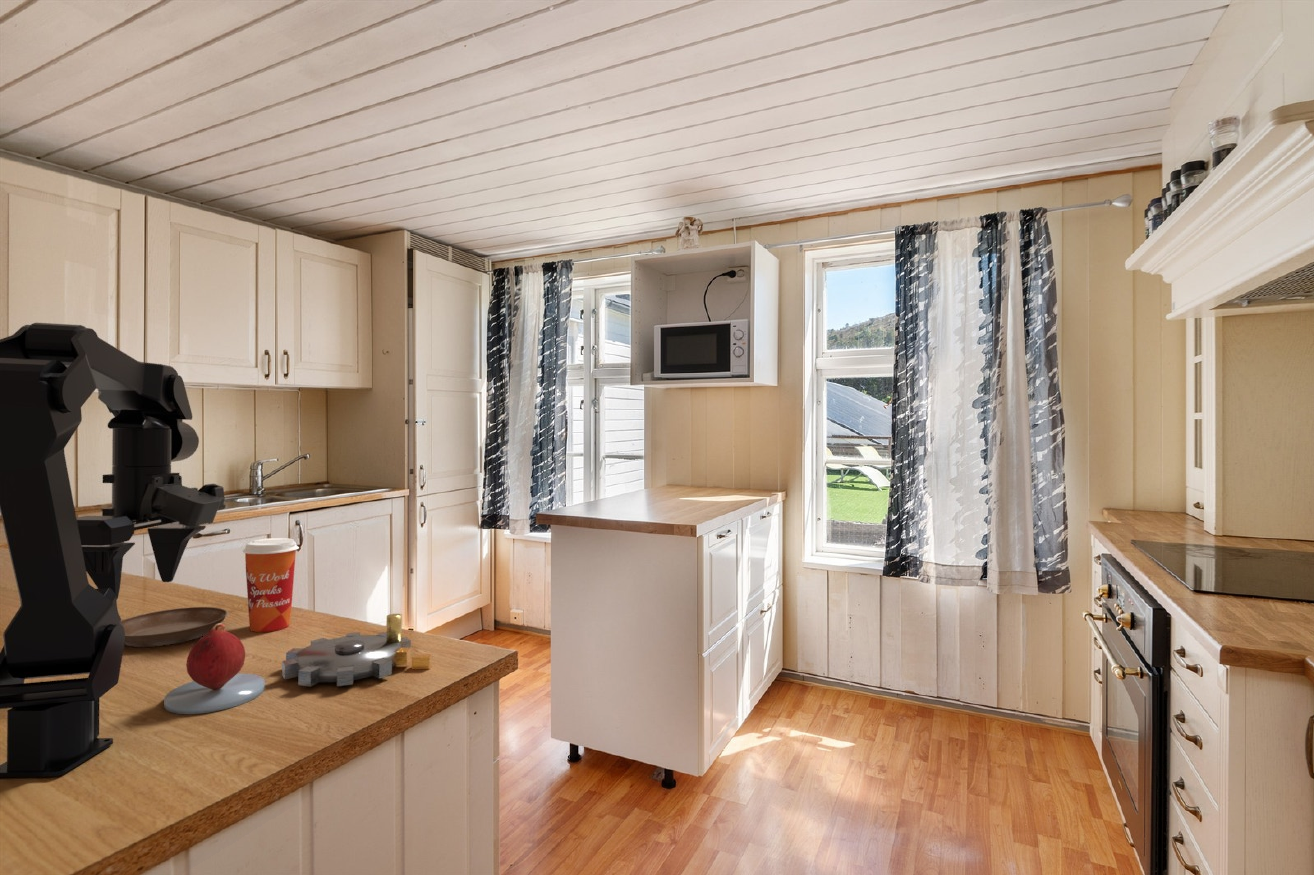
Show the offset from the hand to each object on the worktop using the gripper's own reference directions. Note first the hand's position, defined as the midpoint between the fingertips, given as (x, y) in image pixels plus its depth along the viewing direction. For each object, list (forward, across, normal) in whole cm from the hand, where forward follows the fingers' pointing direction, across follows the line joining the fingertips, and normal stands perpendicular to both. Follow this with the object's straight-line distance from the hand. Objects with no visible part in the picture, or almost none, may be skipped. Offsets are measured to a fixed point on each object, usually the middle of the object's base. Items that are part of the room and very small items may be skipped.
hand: (141, 590), depth 79 cm
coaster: (+12, -3, -11) cm, 17 cm away
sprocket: (+12, +6, -23) cm, 27 cm away
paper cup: (+12, +24, -3) cm, 27 cm away
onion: (+11, -3, -11) cm, 16 cm away
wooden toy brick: (+12, +6, -26) cm, 30 cm away
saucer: (+12, +20, +10) cm, 26 cm away
